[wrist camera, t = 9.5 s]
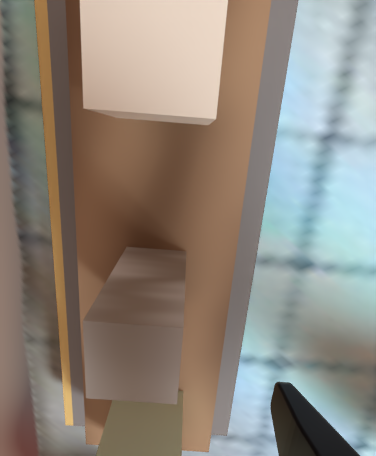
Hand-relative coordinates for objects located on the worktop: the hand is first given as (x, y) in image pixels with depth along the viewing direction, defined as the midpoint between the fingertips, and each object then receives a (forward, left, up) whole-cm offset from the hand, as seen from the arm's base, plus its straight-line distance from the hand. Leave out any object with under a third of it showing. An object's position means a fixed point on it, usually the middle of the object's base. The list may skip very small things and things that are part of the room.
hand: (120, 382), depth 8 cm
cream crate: (0, -9, -7) cm, 12 cm away
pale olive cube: (0, +10, -7) cm, 12 cm away
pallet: (0, 0, -10) cm, 10 cm away
